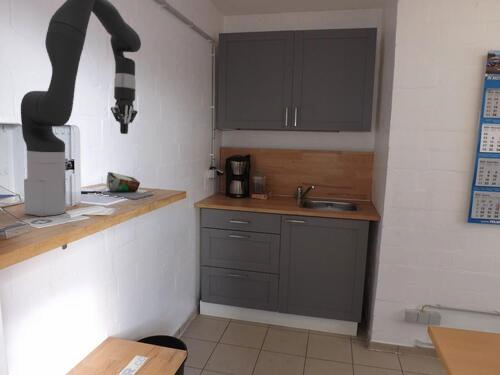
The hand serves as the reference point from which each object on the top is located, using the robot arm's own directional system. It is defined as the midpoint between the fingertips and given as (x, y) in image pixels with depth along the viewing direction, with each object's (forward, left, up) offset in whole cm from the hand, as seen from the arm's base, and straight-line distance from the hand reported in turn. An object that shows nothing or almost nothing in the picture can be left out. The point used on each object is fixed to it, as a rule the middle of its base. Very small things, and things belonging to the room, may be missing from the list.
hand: (124, 133), depth 137 cm
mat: (-4, -4, -23) cm, 23 cm away
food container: (+4, -3, -21) cm, 21 cm away
